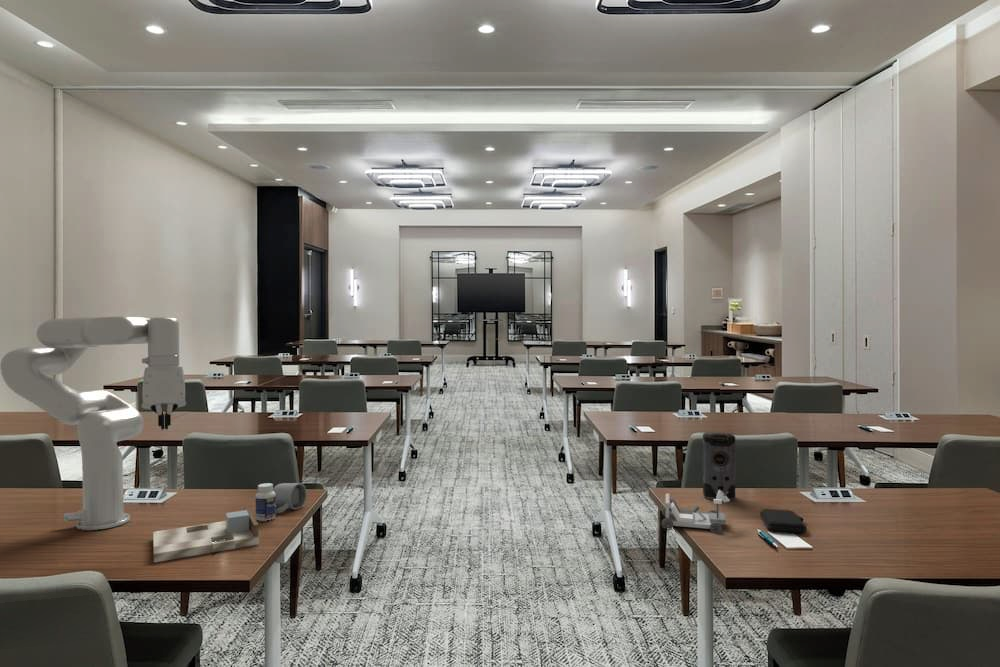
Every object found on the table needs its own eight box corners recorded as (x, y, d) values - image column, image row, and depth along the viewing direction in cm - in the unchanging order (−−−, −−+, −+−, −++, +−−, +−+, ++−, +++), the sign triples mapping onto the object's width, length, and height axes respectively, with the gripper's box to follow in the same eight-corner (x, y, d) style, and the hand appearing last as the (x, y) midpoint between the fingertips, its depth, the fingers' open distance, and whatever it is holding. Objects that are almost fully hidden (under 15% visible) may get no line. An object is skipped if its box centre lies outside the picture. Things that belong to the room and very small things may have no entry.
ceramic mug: (285, 503, 189) (284, 478, 189) (307, 505, 187) (306, 480, 187) (261, 513, 180) (260, 487, 179) (284, 516, 177) (283, 490, 177)
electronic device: (705, 499, 191) (705, 436, 191) (702, 494, 197) (702, 432, 196) (736, 500, 189) (736, 436, 189) (732, 495, 195) (732, 433, 195)
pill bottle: (268, 522, 171) (268, 487, 171) (251, 521, 172) (251, 486, 172) (279, 516, 176) (279, 482, 176) (262, 515, 177) (262, 482, 177)
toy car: (728, 486, 171) (732, 498, 159) (728, 521, 171) (732, 535, 159) (662, 482, 175) (661, 493, 164) (662, 516, 175) (661, 529, 164)
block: (228, 533, 156) (228, 518, 156) (226, 528, 160) (225, 512, 160) (249, 530, 158) (248, 515, 158) (246, 524, 162) (246, 510, 162)
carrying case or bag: (812, 537, 157) (799, 520, 171) (812, 525, 157) (799, 509, 171) (767, 534, 160) (759, 517, 174) (767, 522, 160) (759, 506, 174)
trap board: (153, 562, 142) (153, 541, 142) (153, 539, 157) (153, 520, 157) (258, 544, 153) (258, 524, 153) (248, 524, 169) (248, 506, 169)
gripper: (131, 363, 160) (132, 433, 160) (195, 361, 168) (195, 428, 168) (132, 362, 167) (133, 429, 167) (193, 360, 174) (194, 424, 174)
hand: (164, 428), depth 167 cm, fingers closed
